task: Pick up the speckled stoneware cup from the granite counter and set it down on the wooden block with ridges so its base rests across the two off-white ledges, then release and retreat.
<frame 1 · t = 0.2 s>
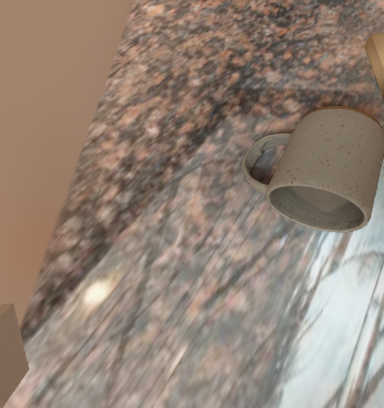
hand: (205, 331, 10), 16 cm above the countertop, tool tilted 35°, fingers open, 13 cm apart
speckled stoneware cup: (297, 185, 28), on the countertop
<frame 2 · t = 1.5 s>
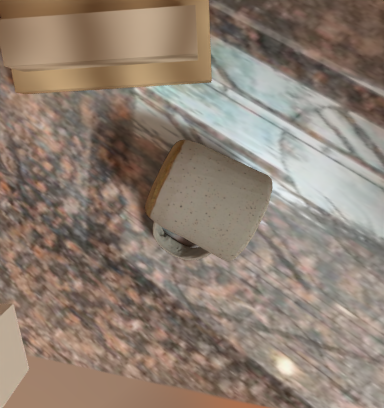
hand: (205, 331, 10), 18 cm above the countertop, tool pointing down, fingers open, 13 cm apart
speckled stoneware cup: (201, 201, 28), on the countertop
wooden block with ridges: (108, 8, 24), on the countertop
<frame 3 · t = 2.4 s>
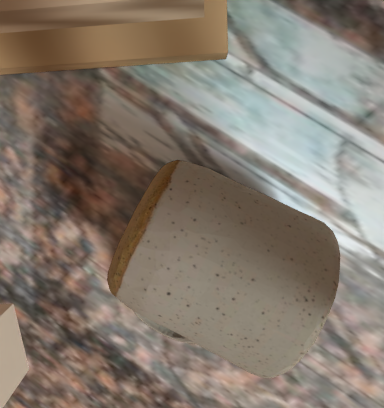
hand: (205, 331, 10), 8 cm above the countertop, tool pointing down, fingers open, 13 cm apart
speckled stoneware cup: (207, 250, 18), on the countertop
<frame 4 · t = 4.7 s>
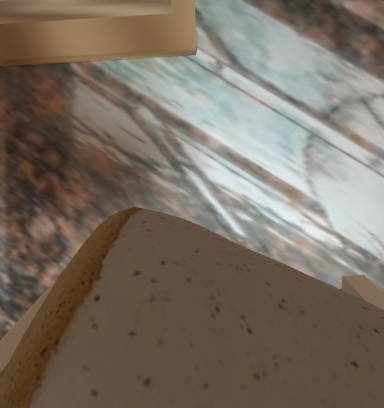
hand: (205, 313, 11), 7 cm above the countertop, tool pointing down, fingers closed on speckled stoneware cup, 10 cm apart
speckled stoneware cup: (193, 326, 12), point 7 cm above the countertop, touching gripper
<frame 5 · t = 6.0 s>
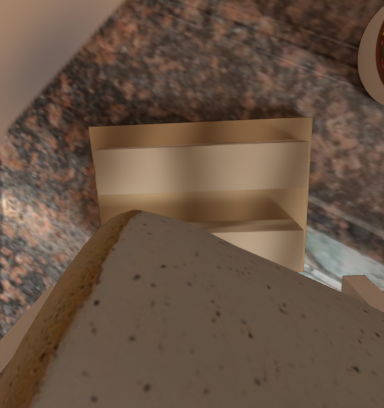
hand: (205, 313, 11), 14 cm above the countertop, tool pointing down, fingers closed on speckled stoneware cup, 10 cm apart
speckled stoneware cup: (193, 328, 12), point 13 cm above the countertop, touching gripper
wooden block with ridges: (201, 198, 25), on the countertop
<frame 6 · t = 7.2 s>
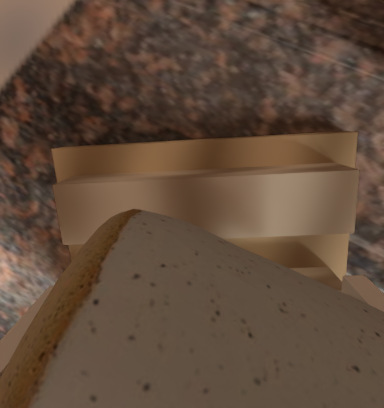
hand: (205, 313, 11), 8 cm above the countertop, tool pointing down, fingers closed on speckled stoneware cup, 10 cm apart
speckled stoneware cup: (193, 327, 12), point 7 cm above the countertop, touching gripper
wooden block with ridges: (205, 237, 19), on the countertop
when the fingers open (5 cm above the countertop, at t = 8.3 s): speckled stoneware cup stays where it is, resting on wooden block with ridges.
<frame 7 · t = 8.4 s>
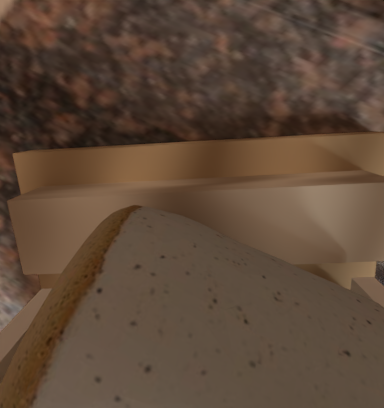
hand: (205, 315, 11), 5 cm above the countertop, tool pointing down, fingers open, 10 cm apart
speckled stoneware cup: (193, 322, 12), point 4 cm above the countertop, touching wooden block with ridges
wooden block with ridges: (203, 258, 16), on the countertop
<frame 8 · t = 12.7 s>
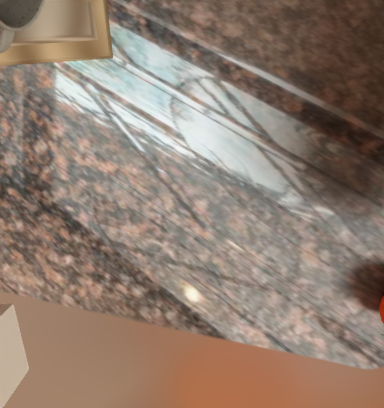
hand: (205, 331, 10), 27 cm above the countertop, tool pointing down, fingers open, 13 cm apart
wooden block with ridges: (30, 0, 31), on the countertop
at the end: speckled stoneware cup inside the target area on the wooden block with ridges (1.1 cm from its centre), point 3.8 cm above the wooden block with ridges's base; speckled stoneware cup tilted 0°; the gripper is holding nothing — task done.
